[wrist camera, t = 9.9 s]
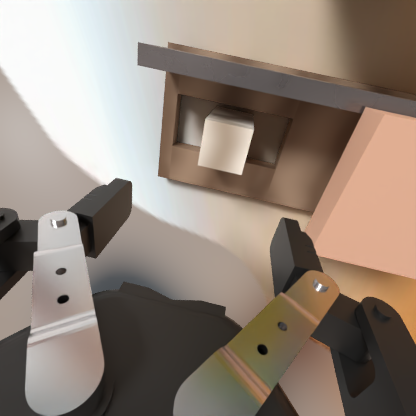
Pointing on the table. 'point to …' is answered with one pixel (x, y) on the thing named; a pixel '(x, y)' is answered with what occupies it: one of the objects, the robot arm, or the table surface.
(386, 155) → the sliding cover
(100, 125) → the table surface
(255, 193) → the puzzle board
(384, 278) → the table surface
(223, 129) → the cream block
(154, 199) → the table surface
